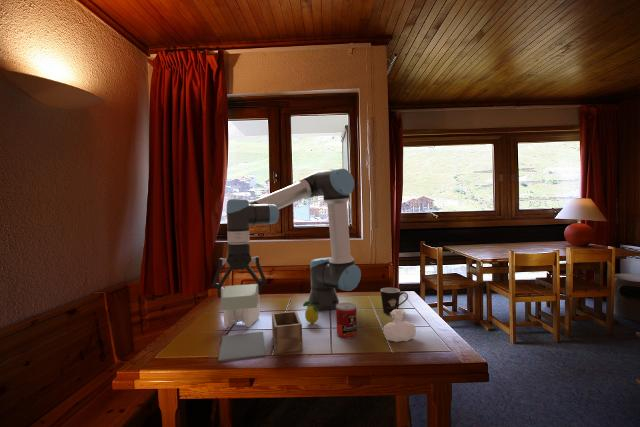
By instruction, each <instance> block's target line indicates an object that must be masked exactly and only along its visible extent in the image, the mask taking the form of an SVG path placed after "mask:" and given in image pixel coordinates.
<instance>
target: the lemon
mask: <svg viewBox="0 0 640 427" xmlns="http://www.w3.org/2000/svg"><path fill="white" fill-rule="evenodd" d="M310 303H311V306H310V307H308V305H310ZM302 306H303V307H307V308H306V310H305V313H304V316H305V317H304V318H305V320H306V321H307V322H308V323H310V324H311V325H313V324H314V323H316V322H317V321H318V320H319V310H317V308H316V307H315V306H314V305H313V306H312V300H311V302H308V300H306V301H305V302H303V305H302Z"/></svg>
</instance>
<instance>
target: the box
mask: <svg viewBox="0 0 640 427" xmlns="http://www.w3.org/2000/svg"><path fill="white" fill-rule="evenodd" d="M271 322H272V323H271V325H272V327H271V328H272V330H271V332H272V341H273V347H274V353H275V354H284V353H290V352H291V353H292V352H300V351H303V347H304V346H303V324H302V322H301V319H300V317H299V315H298V313H297V311H296V310H295V311H293V310H292V311H285V312H283V311H282V312H275V313H274V312H273V313H271Z"/></svg>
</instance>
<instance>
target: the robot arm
mask: <svg viewBox="0 0 640 427" xmlns="http://www.w3.org/2000/svg"><path fill="white" fill-rule="evenodd" d="M354 189H355V179H354V177H353V175H352V173H351V172H350V171H349V170H348V169H345V168H337V167H336V168H330V169H325V170H324V169H323V170H318V171H314V172H313V173H311V174H308V175H307V176H305V177H302V178H299V179H298V180H297V181H296V182H295V183H294V184H291V185H288V186H286V187H284V188H282V189H279V190H276V191H274V192H272V193H269V194H266V195H264V196H261V197H259V198H257V199H254V200H252V201H249V199H248V198H233V199H232V198H230V199H228V200H227V202H226V212H225V213H226V224H227V225H226V228H227V229H226V231H227V234H226V235H227V243H228V244H227V258H223V257H220V258H218V267H217V269H216V272H215V275H214V277H213V280H212V284H211V287H212V288H216V289H217V297H218V298H220V302H221V304H220V307H221V308H222V295H223V292H224V288H225V286H224V284H225V282H226V281H227V279H228V277H229V276H230V274H231V272H232V271H233V270H234V271H238V270H241V271H242V270H245V269H246V271H247V272H248V274H249V275H250V277H252V279H253V280H254V281H255V284H256V293H257V305H258V304H259V303H260V295H262V293H263V291H262V290H263V289H262V288H263V287H262V285H265V284H267V279H266V276H265V274H264V271H263V268H262V266H261V263H260V257H259V256H258V255H256V256H253V257H252V256H251V249H250V248H251V246H250V243H249V242H250V241H251V240H250V238H251V237H250V226H256V225H257V226H258V225H259V226H261V225H275V224H276V223H278V221H279V219H280V210H281V209H283V208H285V207H287V206H290V205H292V204H294V203H297V202H298V201H301V200H308V199H311V198H315V197H323V202H325V203H326V205H327V214H328V215H327V216H328V227H329V229H328V230H329V239H330V240H329V241H330V242H329V243H330V250H331V251H330V252H331V257H330V256H329V257H320V258H314V259H311V261H310V263H309V264H310V265H309V266H310V267H309V270H310V271H309V272H310V293H309V295H308V300H307V301H308V302H311V300H312V306H313V305H314V306H315V307H316V308H317V310H318V311H331V310H334V309H335V310H336V305H337V304H339V303H340V301H339V300H340V299H339V297H338V294H337V290H340V291H347V292H348V291H353V290H354V289H356V288H357V287H358V285H359V283H360V281H361V276H362V273H361V271H362V270H361V269H360V268H359V266H357V265H356V264H355V258H354V257H353V256H352V255H351V253H352V252H351V243H350V230H349V228H350V227H349V216H348V201H349V200H350V199H351V198H350V195H351V193H353V191H354ZM251 262H252V263H253V264H255V266H256V269H257V271H258V273H259V276H260V278H259V277H258V276H257V274H256V273H255V272H254V270H253V269H252V268H251V266H250V264H251ZM226 263H227V264H228V265H229V267H228V268H227V270H226V272H225V273H224V275H223V276H222V278H221V280H220V281H219V282H218V280H219V277H220V274H221V271H222V268H223V266H224V265H225V264H226ZM260 279H261V280H260ZM336 289H337V290H336ZM258 294H259V295H258ZM310 306H311V303H310V305H308V306H307V308H308V307H310Z"/></svg>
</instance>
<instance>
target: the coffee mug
mask: <svg viewBox="0 0 640 427" xmlns="http://www.w3.org/2000/svg"><path fill="white" fill-rule="evenodd" d="M403 294H405V295H406V298H405V299H403V301H402V302H400V297H401V296H402V295H403ZM408 298H409V295H408V293H407V292H404V291H403V292H401V290H400V289H399V288H396V287H383V288H380V299H381V304H382V311H383V313H384V314H385V315H388V316H389V315H390V312H392V311H393V310H394V309H398V310H399V307H400V306H401V305H402V304H404V303H405V302H406V301H407V300H408ZM390 316H391V315H390Z"/></svg>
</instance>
